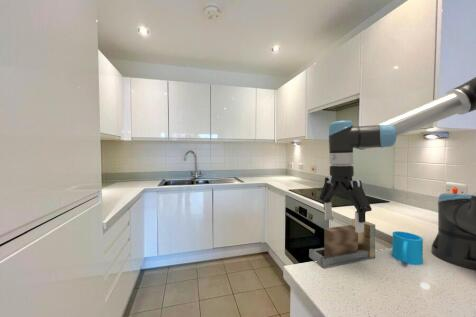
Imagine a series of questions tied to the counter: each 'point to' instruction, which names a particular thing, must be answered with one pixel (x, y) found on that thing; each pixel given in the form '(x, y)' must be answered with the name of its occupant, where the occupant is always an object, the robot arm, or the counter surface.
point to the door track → (364, 252)
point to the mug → (407, 247)
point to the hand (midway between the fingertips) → (342, 225)
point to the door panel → (340, 240)
